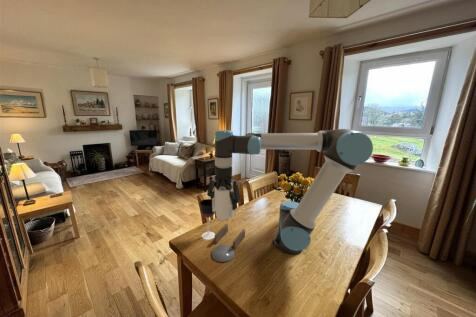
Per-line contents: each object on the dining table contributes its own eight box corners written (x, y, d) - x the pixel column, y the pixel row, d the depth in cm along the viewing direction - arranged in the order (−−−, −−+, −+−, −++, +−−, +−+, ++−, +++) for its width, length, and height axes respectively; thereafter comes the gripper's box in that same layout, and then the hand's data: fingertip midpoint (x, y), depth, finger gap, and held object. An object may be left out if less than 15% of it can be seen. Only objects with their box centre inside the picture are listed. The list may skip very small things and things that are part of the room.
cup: (217, 223, 84) (217, 191, 81) (213, 215, 90) (213, 185, 87) (233, 220, 86) (233, 189, 83) (228, 212, 93) (228, 184, 90)
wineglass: (213, 241, 101) (213, 206, 97) (198, 238, 103) (197, 204, 99) (218, 232, 109) (218, 200, 105) (203, 230, 111) (203, 198, 106)
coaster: (238, 250, 95) (238, 249, 94) (227, 265, 85) (227, 264, 85) (219, 243, 99) (219, 242, 99) (207, 257, 90) (207, 256, 89)
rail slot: (244, 236, 105) (245, 229, 104) (235, 250, 95) (235, 242, 94) (225, 230, 110) (226, 224, 109) (214, 242, 100) (214, 235, 99)
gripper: (249, 167, 81) (247, 215, 86) (208, 161, 91) (208, 204, 96) (242, 171, 75) (240, 223, 80) (198, 164, 84) (199, 211, 89)
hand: (223, 213), depth 88 cm, fingers closed on cup, 9 cm apart
